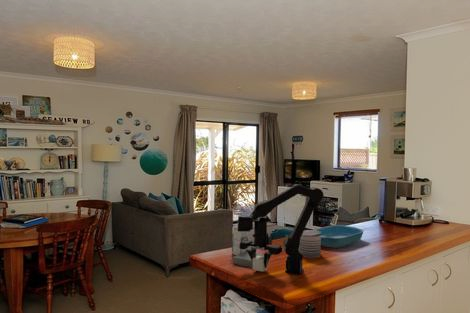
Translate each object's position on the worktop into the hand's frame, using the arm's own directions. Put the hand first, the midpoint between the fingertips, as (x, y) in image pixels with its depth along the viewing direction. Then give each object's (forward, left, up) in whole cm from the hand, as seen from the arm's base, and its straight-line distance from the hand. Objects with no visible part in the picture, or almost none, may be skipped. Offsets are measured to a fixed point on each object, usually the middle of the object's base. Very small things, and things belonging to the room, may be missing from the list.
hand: (260, 266), depth 158 cm
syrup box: (+21, -18, -2) cm, 28 cm away
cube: (0, 0, -1) cm, 1 cm away
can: (-10, -37, -2) cm, 38 cm away
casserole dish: (-15, -71, -3) cm, 73 cm away
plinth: (+10, -9, -2) cm, 14 cm away
